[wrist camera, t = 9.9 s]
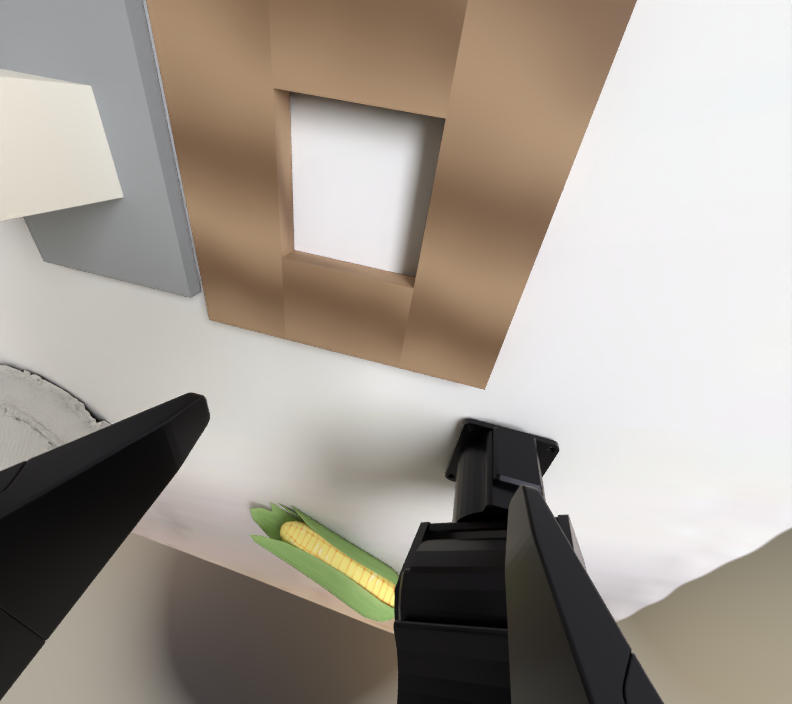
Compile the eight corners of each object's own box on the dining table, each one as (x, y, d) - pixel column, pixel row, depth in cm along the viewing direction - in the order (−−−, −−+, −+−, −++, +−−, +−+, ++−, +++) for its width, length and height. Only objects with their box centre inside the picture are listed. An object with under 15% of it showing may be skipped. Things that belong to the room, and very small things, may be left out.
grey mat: (201, 291, 23) (190, 297, 22) (58, 256, 24) (43, 261, 23) (128, -70, 14) (105, -83, 13) (-97, -100, 15) (-131, -113, 14)
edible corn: (383, 630, 38) (405, 639, 34) (231, 533, 34) (238, 533, 31) (401, 579, 41) (423, 584, 38) (264, 486, 38) (274, 482, 34)
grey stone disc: (169, 499, 43) (121, 555, 37) (39, 471, 46) (-23, 518, 40) (93, 369, 32) (10, 420, 26) (-71, 344, 35) (-176, 385, 29)
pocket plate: (484, 374, 22) (484, 389, 20) (223, 309, 23) (209, 319, 22) (644, -46, 11) (663, -67, 10) (155, -105, 13) (120, -129, 12)
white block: (123, 197, 19) (-1, 221, 14) (46, 179, 20) (-99, 197, 15) (91, 86, 16) (-78, 68, 11) (2, 69, 17) (-197, 45, 12)
